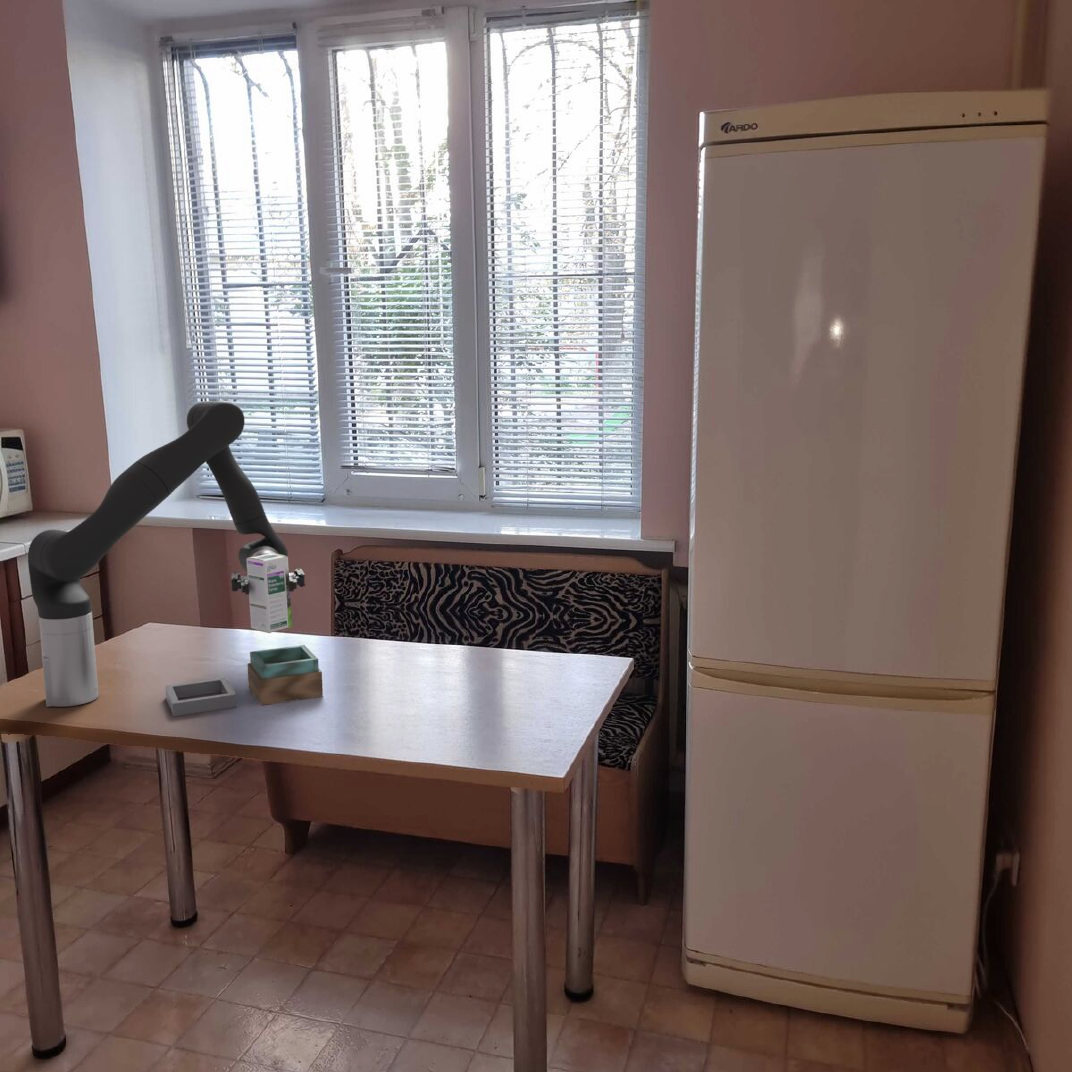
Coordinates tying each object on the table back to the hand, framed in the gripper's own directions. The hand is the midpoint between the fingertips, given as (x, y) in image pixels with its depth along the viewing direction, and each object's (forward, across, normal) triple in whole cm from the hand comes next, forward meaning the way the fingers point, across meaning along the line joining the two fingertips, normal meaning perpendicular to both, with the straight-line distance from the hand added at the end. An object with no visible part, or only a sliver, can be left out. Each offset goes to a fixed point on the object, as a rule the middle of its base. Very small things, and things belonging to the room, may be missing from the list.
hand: (269, 588), depth 187 cm
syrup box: (-2, 0, +9) cm, 9 cm away
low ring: (0, -14, +22) cm, 26 cm away
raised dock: (-1, +2, +22) cm, 22 cm away
